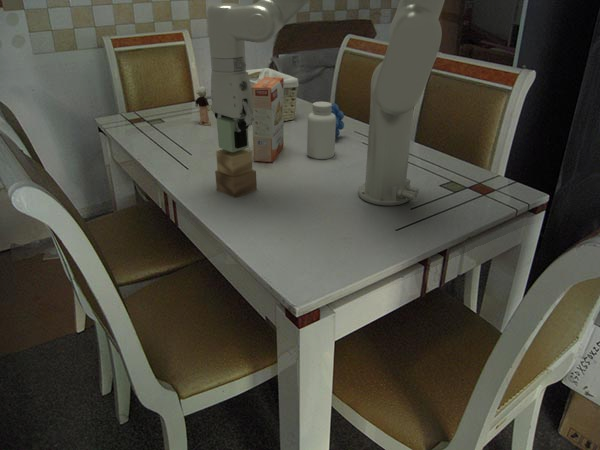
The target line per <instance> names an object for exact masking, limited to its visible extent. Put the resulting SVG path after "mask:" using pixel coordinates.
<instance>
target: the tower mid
mask: <svg viewBox="0 0 600 450" xmlns="http://www.w3.org/2000/svg"><path fill="white" fill-rule="evenodd" d="M252 151H253V150H249V149H247V148H245V149H242V150H239V151H235V152H230V151H227V150H224V149H222V148H221V149H219V150H216V151H215V153H216V154H215V155H216V167H217V170H218V171H219V172H222V173H224V174H226V175H228V176H231V177H236V176H239V175H242V174H245V173H248V172H251V171H253V170H254V169H253V153H252Z"/></svg>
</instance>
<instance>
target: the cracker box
mask: <svg viewBox="0 0 600 450" xmlns="http://www.w3.org/2000/svg"><path fill="white" fill-rule="evenodd" d="M283 85H284V79H283V78H280V77H264V78H263V79H262V80H260V81H259V82H258V83H256V84H255V85H254V86H252V98H253V117H254V121H253V122H252V140H253V142H252V145H253V162H261V163H262V162H264V163H273V162H274V161H275V160H276V158H277V157H278V155H279V154H280V153H281V152H282V150H283V148H284V146H285V145H284V143H285V141H284V137H285V136H284V134H285V133H284V122H285V121H284V108H283V95H284V87H283Z"/></svg>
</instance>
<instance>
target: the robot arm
mask: <svg viewBox="0 0 600 450" xmlns="http://www.w3.org/2000/svg"><path fill="white" fill-rule="evenodd" d="M311 1H312V0H258V1H257V2H255V3H253V4H248V5H247V4H246V5H240V4H238V3H234V2H232V3H231V2H221V3H211V4H210V5H209V6H208V7H207V10H206V17H207V28H208V30H207V31H208V41H209V42H208V43H209V53H210V66H211V67H210V68H211V74H210V99H211V106H210V111H211V112H212V113H213V114H214V118H215V119H216V120H217V118H220V117H224V116H227V117H230V118H233V120H234V124H235V129H236V131H235V132H234V137H235V148H237V149H238V148H242V147H245V146H247V130H248V131H249V127H250V126H251V125H252V124H253V121H254V117H253V98H252V90H251V84H250V80H251V78H249V75H248V72H246V70H247V67H246V66H247V64H246V62H247V61H246V45H245V41H246V42H251V43H258V44H259V43H266V42H268V41H269V40H272V38H273V37H274V36H276V34H278V32H279V31H280V30H281V29H283V27H284V26H286V25H287V24H288V23H289V22H290V20H292V19H293V18H294V17H295V16H296V15H297V14H298V13H299V12H300V11H301V10H302V9H303V8H305V6H306V5H307V4H308V3H310V2H311ZM445 1H446V0H399V2H398V6H397V8H396V11H395V13H394V16H393V18H392V21H391V23H390V26H389V40H388V41H389V42H388V45H387V48H386V51H385V53H384V57H383V60H382V61H381V62H380V63H379V64H378V65H377V66H376V67H375V68H374V70H373V73H372V76H371V81H370V103H369V104H370V106H369V109H370V110H369V123H368V124H369V125H368V137H367V150H366V151H367V152H366V154H367V155H366V166H365V167H366V169H365V170H366V171H365V182H364V183H362V184H361V185H360V186H359V187H358V192H357V193H358V196H359V197H360V198H361V199H362V200H363V201H365V202H367V203H370V204H374V205H377V206H387V207H388V206H398V205H403V204H405V203H407V202H408V201H412V202H416V201H417V200H418V196H419V192H420V190H419V189H418V188H415V187H412V186H411V179H408V178H407V176H408V168H409V167H408V165H409V158H410V157H409V156H410V147H411V136H412V132H413V131H412V129H413V120H414V108H415V106H416V105H417V104H418V103H419V100H420V99H421V97H422V94H423V92H424V90H425V87H426V84H427V82H428V79H429V77H430V74H431V72H432V69H433V67H434V63H435V61H436V59H437V55H438V53H439V50H440V46H441V42H442V36H443V34H442V33H443V32H442V31H443V30H442V26H441V23H440V20H439V19H440V15H441V12H442V10H443V7H444V4H445ZM239 120H242V122H241V124H239Z"/></svg>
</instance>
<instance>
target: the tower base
mask: <svg viewBox="0 0 600 450" xmlns="http://www.w3.org/2000/svg"><path fill="white" fill-rule="evenodd" d="M214 172H215V173H214V175H215V184H216V185H215V186H216V190H217V191H219V192H221V193H223V194H226V195H228V196H230V197H232V198H235V199H236V198H238V197H240V196H243V195H246V194H248V193H251V192H253V191H256V190H257V189H258V186H257V184H258V183H257V182H258V180H257V170H255V169H253V171H251V172H248V173H245V174H242V175H239V176H236V177H231V176H228V175H226V174H224V173H222V172H219V171H218V169H217V170H215V171H214Z"/></svg>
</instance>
